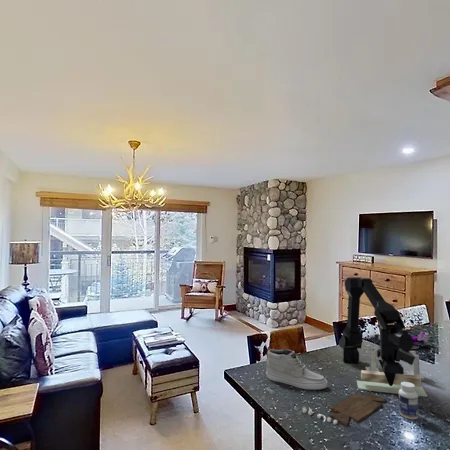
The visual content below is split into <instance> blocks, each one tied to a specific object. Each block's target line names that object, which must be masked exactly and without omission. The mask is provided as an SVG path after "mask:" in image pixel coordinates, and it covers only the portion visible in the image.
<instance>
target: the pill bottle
mask: <svg viewBox="0 0 450 450" xmlns="http://www.w3.org/2000/svg"><path fill="white" fill-rule="evenodd" d="M401 388H402V389H400V390H399V394H398V410H399V411H398V412H399V414H400V415H401V417H402V418H405V419H410V420H417V419H418V418H419V396H418V394H417V393H416V392H415V385H414V384H412V383H410V382H401Z"/></svg>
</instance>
